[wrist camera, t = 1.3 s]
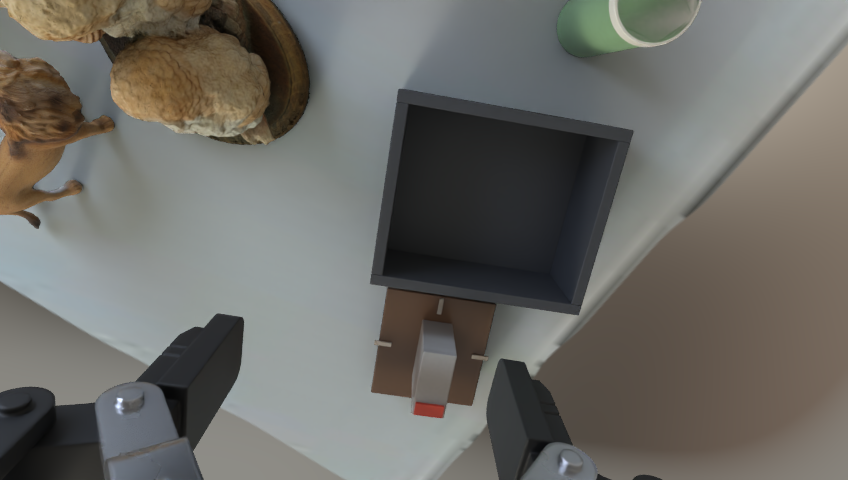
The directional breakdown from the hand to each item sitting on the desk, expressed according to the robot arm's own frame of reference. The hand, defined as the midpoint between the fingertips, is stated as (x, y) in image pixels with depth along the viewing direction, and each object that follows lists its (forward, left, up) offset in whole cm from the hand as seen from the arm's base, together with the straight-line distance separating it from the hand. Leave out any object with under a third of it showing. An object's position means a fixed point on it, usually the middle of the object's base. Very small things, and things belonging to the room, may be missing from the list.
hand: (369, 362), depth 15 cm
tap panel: (+12, +5, -25) cm, 28 cm away
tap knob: (+12, +5, -22) cm, 26 cm away
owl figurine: (-9, -16, -25) cm, 31 cm away
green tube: (-15, +12, -25) cm, 31 cm away
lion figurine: (0, -26, -25) cm, 37 cm away
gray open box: (-1, +7, -25) cm, 26 cm away
